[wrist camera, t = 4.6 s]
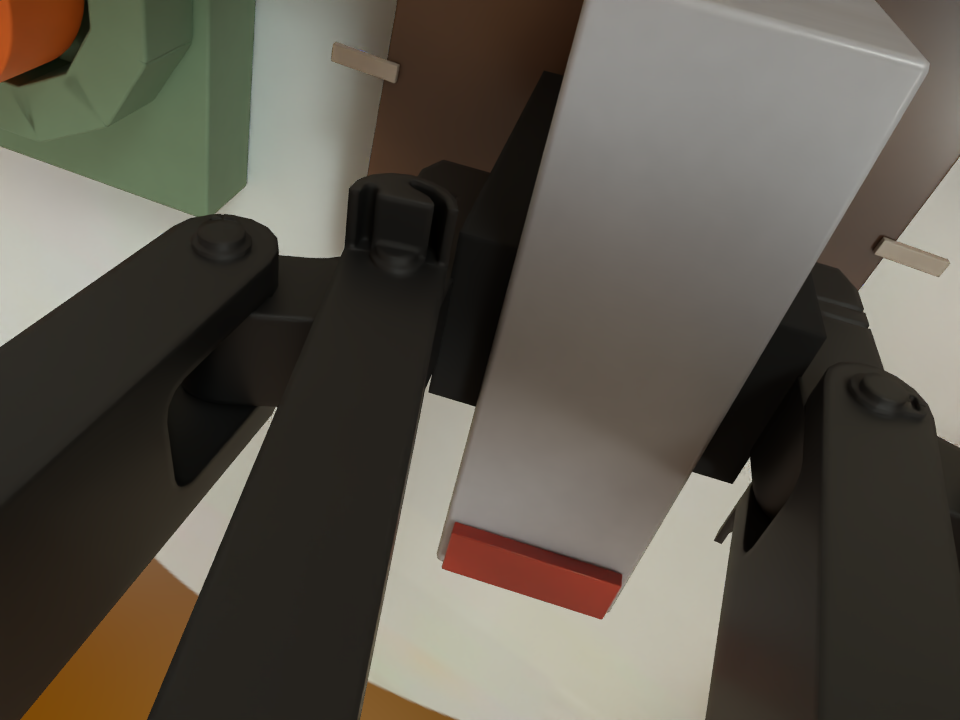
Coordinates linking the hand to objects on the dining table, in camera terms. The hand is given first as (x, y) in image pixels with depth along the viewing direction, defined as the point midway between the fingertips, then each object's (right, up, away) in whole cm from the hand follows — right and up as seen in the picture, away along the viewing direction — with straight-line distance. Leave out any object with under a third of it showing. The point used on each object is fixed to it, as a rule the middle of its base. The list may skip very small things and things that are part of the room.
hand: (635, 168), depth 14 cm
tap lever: (0, 0, 0) cm, 1 cm away
